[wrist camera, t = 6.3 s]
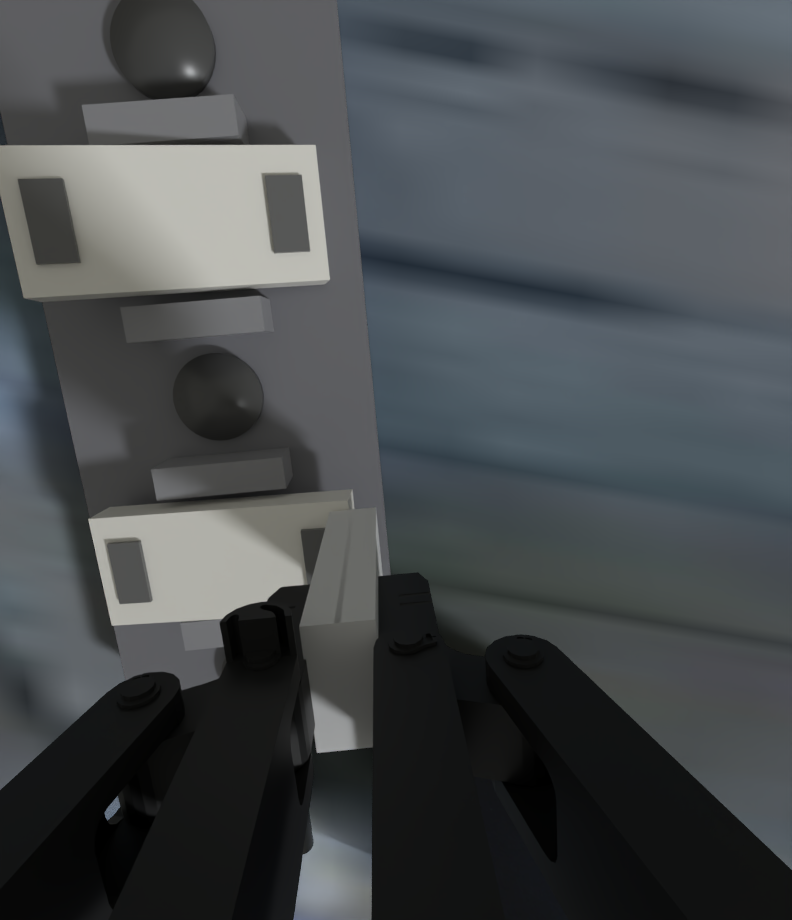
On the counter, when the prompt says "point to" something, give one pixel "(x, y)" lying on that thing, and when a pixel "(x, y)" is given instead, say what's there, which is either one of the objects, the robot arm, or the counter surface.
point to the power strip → (203, 313)
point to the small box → (514, 864)
